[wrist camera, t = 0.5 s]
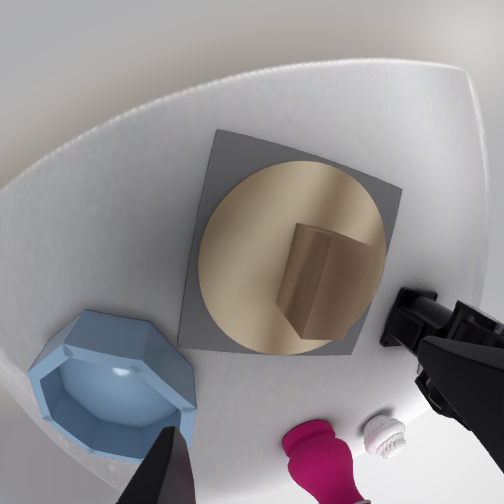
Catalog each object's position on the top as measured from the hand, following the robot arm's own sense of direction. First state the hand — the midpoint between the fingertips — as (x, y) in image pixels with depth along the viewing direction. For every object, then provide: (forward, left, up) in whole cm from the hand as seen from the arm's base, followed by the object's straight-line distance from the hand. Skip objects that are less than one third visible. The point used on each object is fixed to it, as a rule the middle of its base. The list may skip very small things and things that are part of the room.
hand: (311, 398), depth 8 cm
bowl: (+9, +11, -13) cm, 19 cm away
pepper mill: (-12, +19, -13) cm, 27 cm away
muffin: (-23, +19, -13) cm, 33 cm away
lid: (-4, -2, -12) cm, 13 cm away
